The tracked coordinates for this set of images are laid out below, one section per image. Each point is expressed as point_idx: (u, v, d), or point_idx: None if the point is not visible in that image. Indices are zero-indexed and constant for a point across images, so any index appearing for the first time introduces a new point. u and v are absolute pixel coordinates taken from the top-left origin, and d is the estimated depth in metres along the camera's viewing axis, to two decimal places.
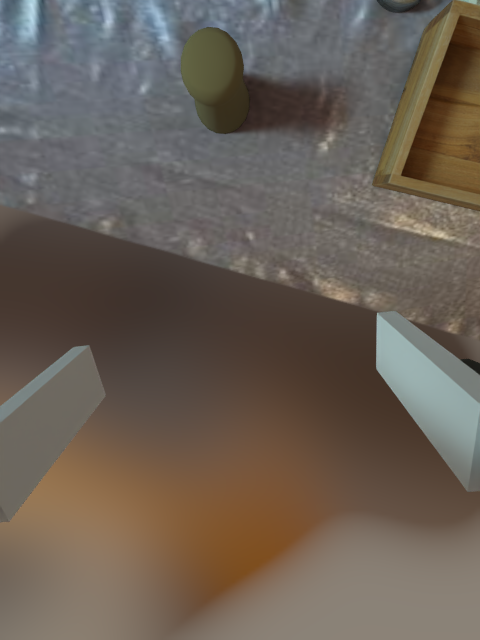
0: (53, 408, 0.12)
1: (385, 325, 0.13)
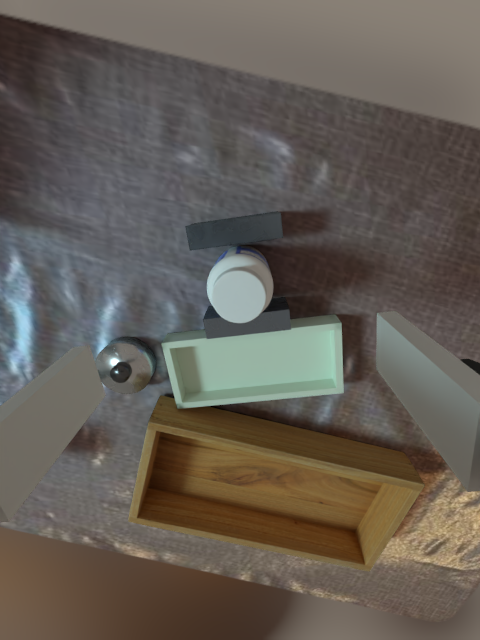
0: (53, 408, 0.12)
1: (385, 324, 0.13)
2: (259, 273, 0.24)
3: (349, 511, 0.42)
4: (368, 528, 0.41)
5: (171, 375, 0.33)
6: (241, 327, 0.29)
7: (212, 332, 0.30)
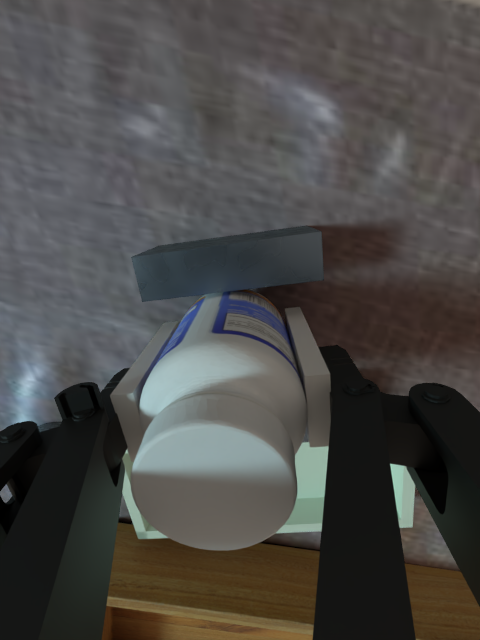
0: None
1: (286, 318, 0.15)
2: (274, 394, 0.09)
3: None
4: None
5: (126, 492, 0.20)
6: None
7: None
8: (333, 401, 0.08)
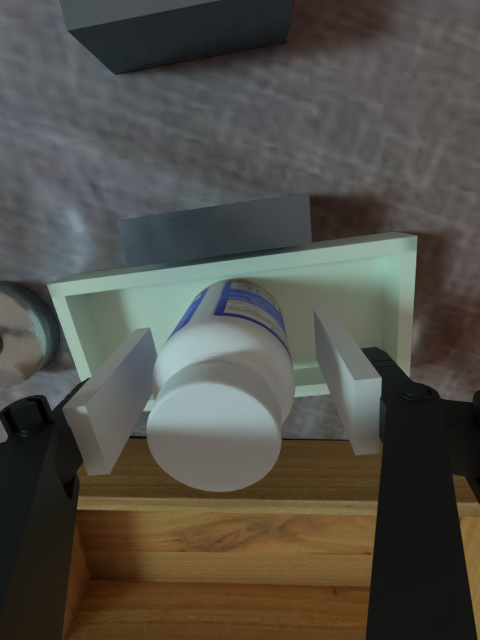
0: (131, 380, 0.13)
1: (317, 318, 0.14)
2: (265, 365, 0.10)
3: None
4: None
5: (74, 351, 0.17)
6: (202, 237, 0.13)
7: (139, 251, 0.14)
8: (388, 405, 0.08)
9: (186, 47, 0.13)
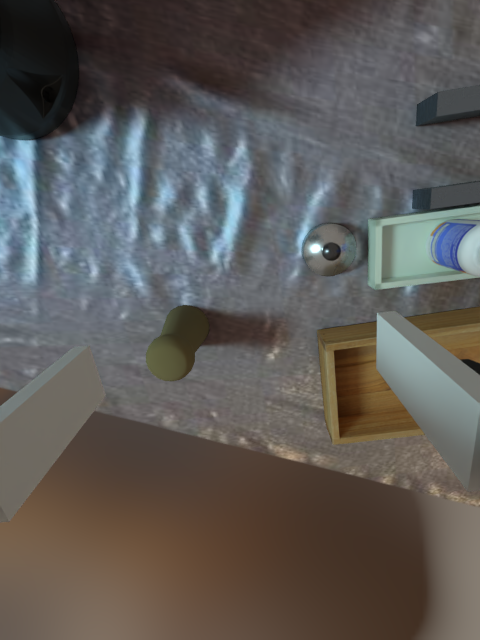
0: (53, 408, 0.12)
1: (385, 324, 0.13)
2: None
3: None
4: None
5: (377, 254, 0.36)
6: (465, 195, 0.32)
7: (437, 202, 0.33)
8: None
9: (459, 117, 0.32)
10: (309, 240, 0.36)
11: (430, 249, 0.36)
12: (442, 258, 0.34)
